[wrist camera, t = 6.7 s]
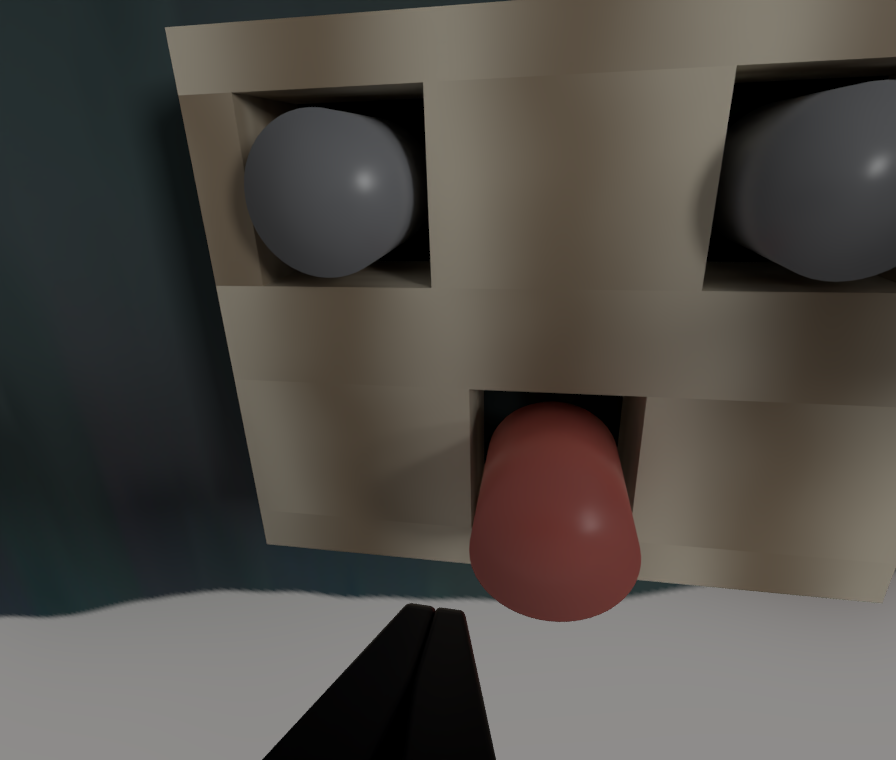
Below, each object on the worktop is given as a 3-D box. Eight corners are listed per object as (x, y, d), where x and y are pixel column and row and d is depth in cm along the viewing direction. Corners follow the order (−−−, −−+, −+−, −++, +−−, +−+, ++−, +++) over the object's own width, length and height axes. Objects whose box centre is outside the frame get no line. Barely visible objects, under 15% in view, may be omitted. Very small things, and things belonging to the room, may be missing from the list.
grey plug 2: (874, 95, 14) (1004, 73, 10) (836, 248, 16) (935, 282, 12) (713, 102, 15) (775, 85, 11) (692, 248, 17) (739, 280, 12)
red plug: (624, 404, 16) (651, 493, 12) (612, 517, 17) (631, 630, 13) (487, 398, 16) (467, 480, 12) (487, 507, 18) (469, 612, 14)
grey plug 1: (431, 114, 16) (392, 103, 12) (436, 249, 18) (403, 278, 14) (306, 119, 17) (230, 110, 13) (321, 249, 19) (258, 277, 14)
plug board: (971, 5, 14) (1123, -47, 10) (821, 520, 20) (882, 603, 16) (246, 53, 17) (165, 27, 13) (310, 482, 23) (267, 544, 20)
